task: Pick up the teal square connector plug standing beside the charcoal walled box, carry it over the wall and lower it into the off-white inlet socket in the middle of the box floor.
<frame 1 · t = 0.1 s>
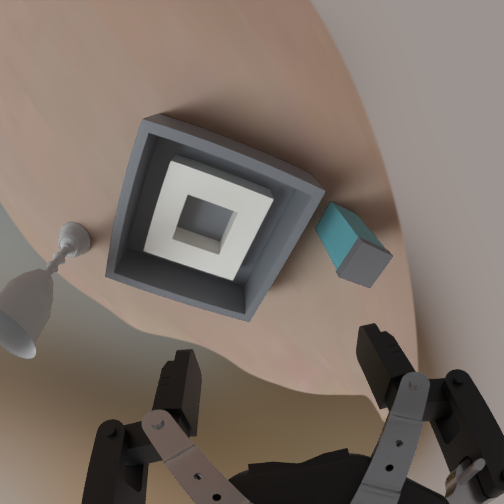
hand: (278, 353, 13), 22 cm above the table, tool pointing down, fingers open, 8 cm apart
chalice: (75, 238, 34), on the table
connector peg: (336, 221, 35), on the table
walled box: (206, 212, 33), on the table
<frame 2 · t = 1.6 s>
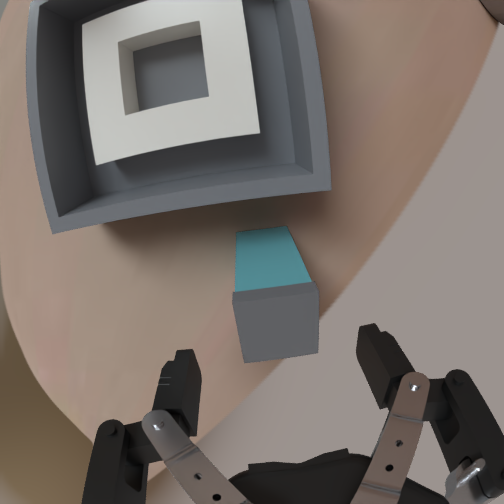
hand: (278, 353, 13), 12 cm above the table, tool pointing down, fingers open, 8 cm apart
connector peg: (264, 252, 24), on the table
walled box: (172, 75, 18), on the table
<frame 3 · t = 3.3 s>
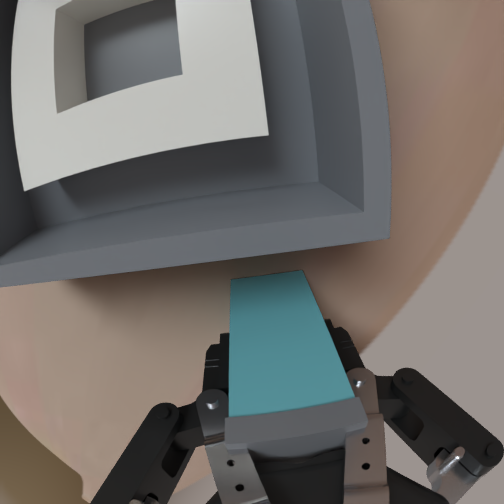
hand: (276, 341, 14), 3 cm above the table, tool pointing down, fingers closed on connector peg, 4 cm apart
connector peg: (269, 304, 17), on the table, touching gripper
walled box: (137, 52, 11), on the table
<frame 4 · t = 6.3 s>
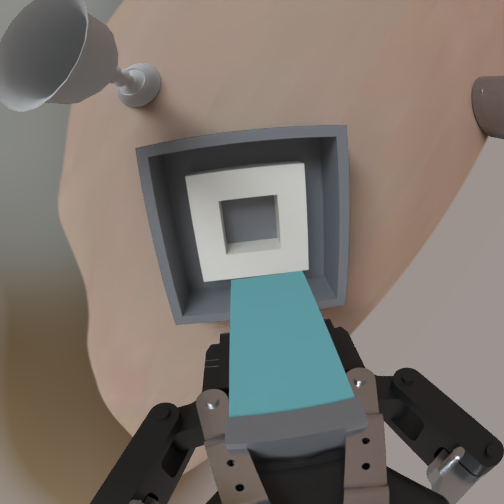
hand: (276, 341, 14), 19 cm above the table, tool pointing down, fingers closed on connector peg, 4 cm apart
chalice: (138, 85, 25), on the table
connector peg: (270, 304, 17), point 16 cm above the table, touching gripper
walled box: (249, 215, 31), on the table
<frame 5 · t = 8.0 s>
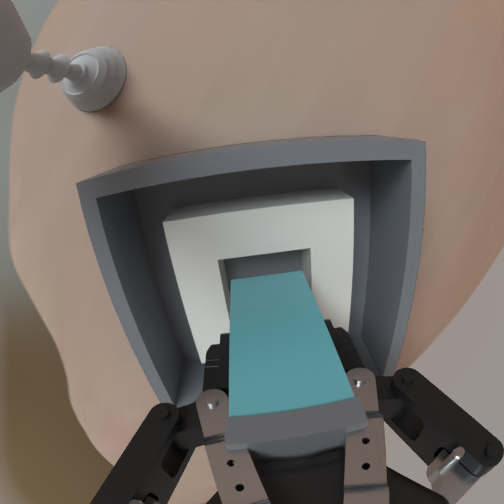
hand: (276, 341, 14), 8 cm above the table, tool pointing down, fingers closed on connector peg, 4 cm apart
chalice: (95, 78, 15), on the table
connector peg: (269, 304, 17), point 5 cm above the table, touching gripper
walled box: (263, 267, 21), on the table
when the fingers open (5 cm above the table, at t = 9.3 s): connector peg drops 1 cm, resting on walled box.
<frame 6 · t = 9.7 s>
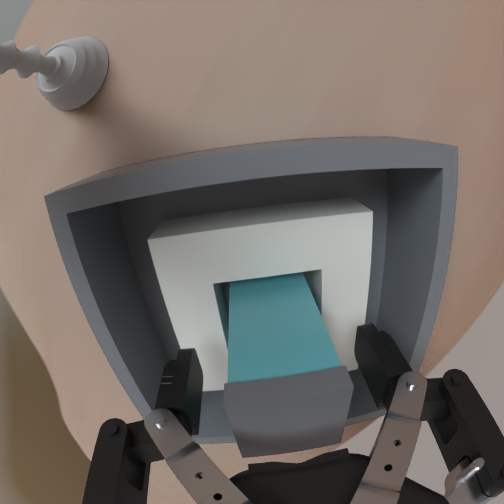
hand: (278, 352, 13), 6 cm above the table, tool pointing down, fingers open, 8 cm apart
chalice: (75, 72, 12), on the table
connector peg: (266, 291, 18), point 1 cm above the table, touching walled box
walled box: (266, 287, 19), on the table
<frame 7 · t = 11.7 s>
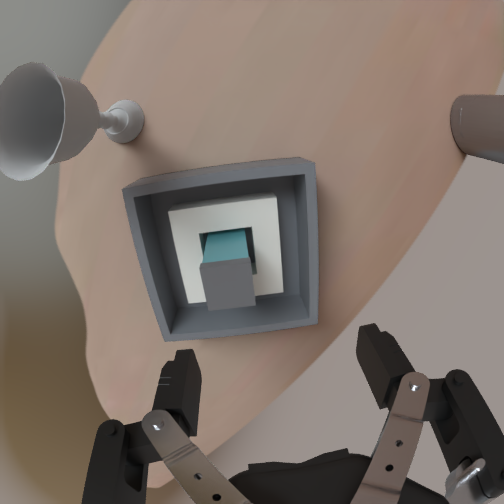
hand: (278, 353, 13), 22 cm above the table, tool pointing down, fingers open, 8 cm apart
chalice: (123, 121, 27), on the table
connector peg: (228, 243, 33), point 1 cm above the table, touching walled box
walled box: (228, 242, 34), on the table
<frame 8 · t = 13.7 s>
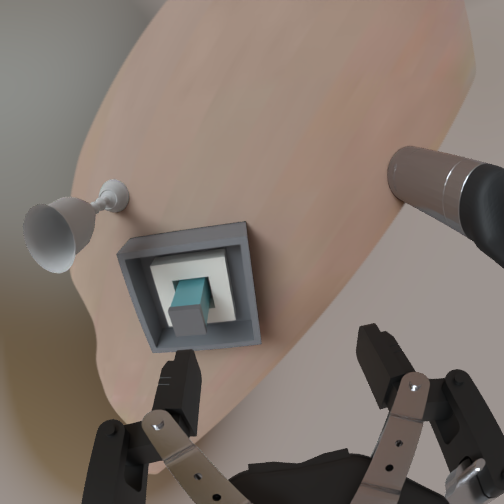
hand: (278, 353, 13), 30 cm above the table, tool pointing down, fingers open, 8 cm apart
chalice: (114, 195, 39), on the table
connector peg: (196, 284, 45), point 1 cm above the table, touching walled box
walled box: (196, 282, 45), on the table
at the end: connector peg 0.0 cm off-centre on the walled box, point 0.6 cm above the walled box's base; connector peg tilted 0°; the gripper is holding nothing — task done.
